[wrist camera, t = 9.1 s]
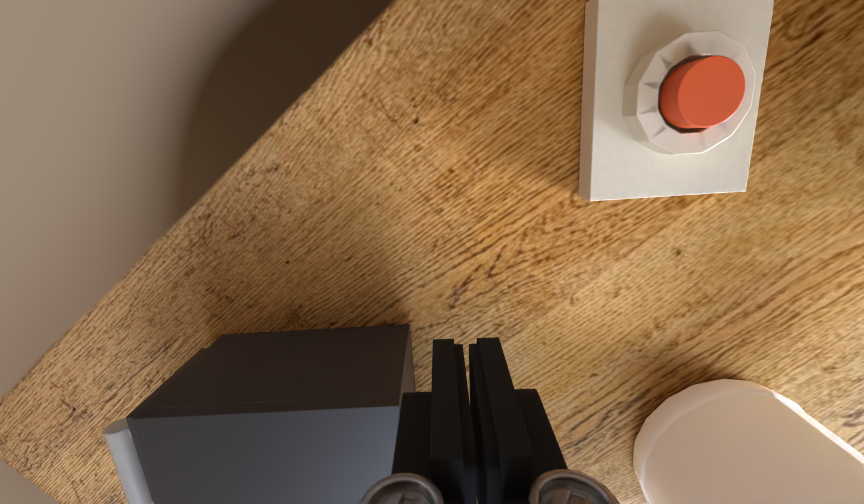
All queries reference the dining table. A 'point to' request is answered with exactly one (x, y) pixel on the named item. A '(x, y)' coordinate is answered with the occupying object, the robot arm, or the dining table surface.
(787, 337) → the dining table surface
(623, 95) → the control block
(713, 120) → the button
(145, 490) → the cabinet drawer
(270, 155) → the dining table surface
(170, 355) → the dining table surface
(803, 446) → the bottle
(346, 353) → the small drawer cabinet
